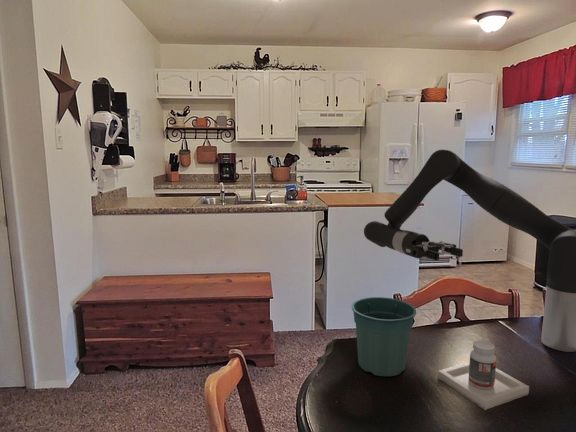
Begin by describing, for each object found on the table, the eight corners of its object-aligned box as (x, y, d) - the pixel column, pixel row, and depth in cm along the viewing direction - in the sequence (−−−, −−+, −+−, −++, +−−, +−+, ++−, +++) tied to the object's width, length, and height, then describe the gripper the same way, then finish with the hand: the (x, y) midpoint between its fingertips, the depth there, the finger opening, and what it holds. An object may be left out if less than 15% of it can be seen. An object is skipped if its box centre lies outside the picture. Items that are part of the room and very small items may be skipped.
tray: (478, 365, 108) (479, 358, 108) (528, 394, 95) (529, 386, 95) (437, 377, 103) (438, 370, 102) (484, 410, 90) (485, 401, 90)
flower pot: (361, 345, 120) (362, 292, 117) (419, 358, 112) (422, 302, 110) (341, 371, 106) (342, 312, 103) (405, 389, 98) (408, 325, 95)
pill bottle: (497, 391, 96) (500, 351, 94) (471, 388, 97) (474, 349, 95) (490, 378, 101) (493, 340, 100) (465, 375, 102) (468, 338, 101)
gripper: (392, 233, 124) (430, 244, 110) (428, 229, 130) (470, 239, 115) (391, 257, 126) (429, 271, 111) (427, 252, 131) (468, 265, 117)
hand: (450, 255), depth 113 cm, fingers open, 8 cm apart
